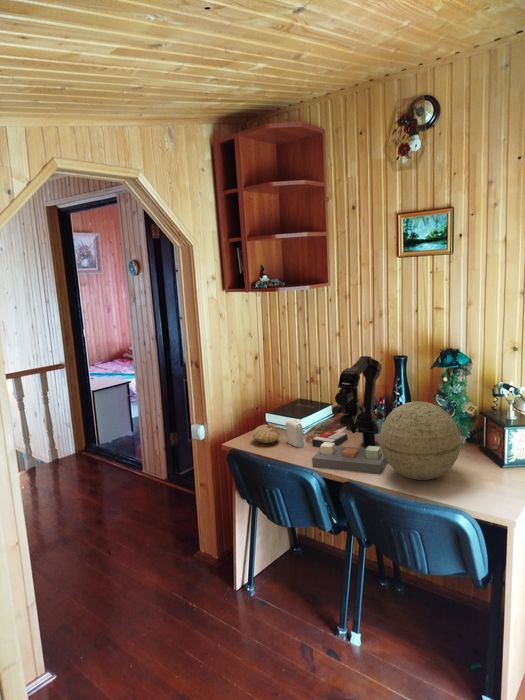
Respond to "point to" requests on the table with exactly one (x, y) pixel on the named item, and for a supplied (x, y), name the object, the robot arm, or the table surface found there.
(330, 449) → the cream button
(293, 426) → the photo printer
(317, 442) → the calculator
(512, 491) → the table surface
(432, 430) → the brown large sphere
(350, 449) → the terracotta button
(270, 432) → the seashell
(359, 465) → the button panel
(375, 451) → the sage button
